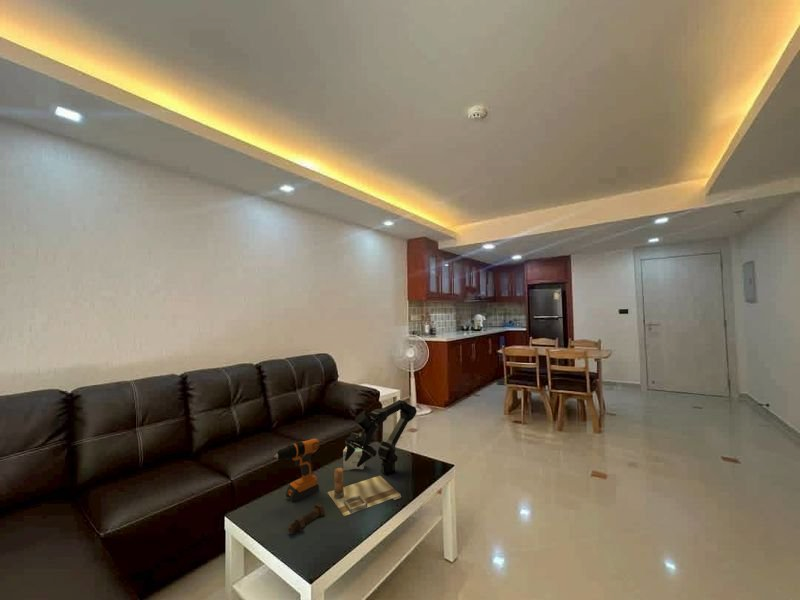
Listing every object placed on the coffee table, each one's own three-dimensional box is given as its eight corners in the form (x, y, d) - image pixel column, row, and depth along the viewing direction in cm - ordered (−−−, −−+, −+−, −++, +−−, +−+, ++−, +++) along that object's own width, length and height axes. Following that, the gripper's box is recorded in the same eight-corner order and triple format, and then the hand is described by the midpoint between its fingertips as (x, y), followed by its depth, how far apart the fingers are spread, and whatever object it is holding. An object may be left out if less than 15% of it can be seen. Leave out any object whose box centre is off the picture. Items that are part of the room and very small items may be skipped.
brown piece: (341, 492, 154) (341, 466, 154) (345, 496, 150) (345, 470, 151) (332, 495, 152) (332, 469, 152) (336, 499, 148) (335, 473, 148)
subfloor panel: (379, 477, 169) (379, 472, 169) (401, 497, 151) (400, 491, 151) (327, 494, 154) (327, 489, 154) (344, 519, 136) (344, 512, 136)
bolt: (289, 539, 128) (320, 518, 140) (295, 537, 125) (326, 516, 137) (284, 523, 130) (315, 503, 141) (290, 521, 127) (321, 501, 139)
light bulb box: (364, 465, 183) (364, 446, 183) (362, 471, 176) (362, 451, 176) (346, 464, 184) (345, 445, 184) (342, 470, 177) (342, 450, 177)
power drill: (279, 511, 142) (278, 453, 143) (272, 503, 148) (271, 448, 148) (322, 491, 158) (322, 439, 158) (314, 485, 163) (314, 434, 163)
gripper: (347, 421, 167) (329, 450, 159) (371, 430, 155) (354, 462, 146) (359, 432, 173) (343, 460, 165) (384, 441, 160) (367, 472, 152)
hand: (351, 463), depth 157 cm, fingers open, 9 cm apart
